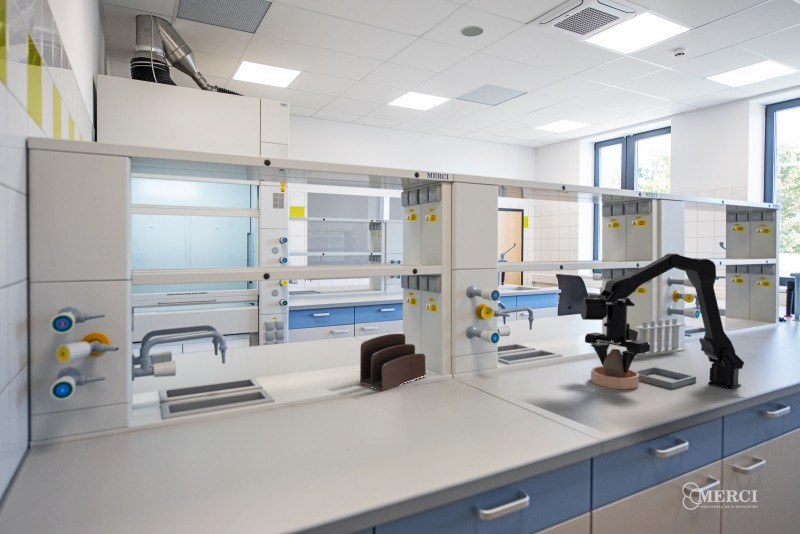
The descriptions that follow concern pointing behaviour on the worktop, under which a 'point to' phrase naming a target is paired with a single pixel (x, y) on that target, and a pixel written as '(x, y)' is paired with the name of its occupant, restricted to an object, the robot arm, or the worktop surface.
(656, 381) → the parts tray
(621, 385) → the bowl
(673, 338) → the test tube rack
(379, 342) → the letter holder
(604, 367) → the vase
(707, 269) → the robot arm
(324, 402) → the worktop surface
